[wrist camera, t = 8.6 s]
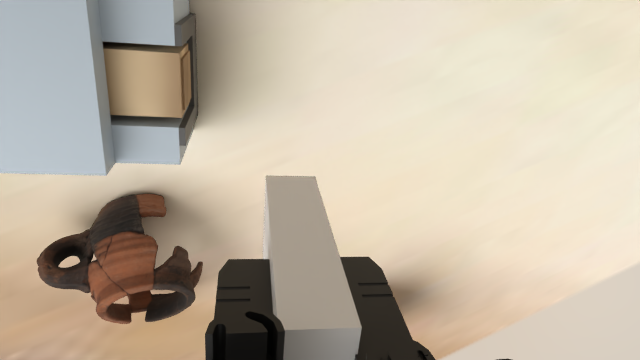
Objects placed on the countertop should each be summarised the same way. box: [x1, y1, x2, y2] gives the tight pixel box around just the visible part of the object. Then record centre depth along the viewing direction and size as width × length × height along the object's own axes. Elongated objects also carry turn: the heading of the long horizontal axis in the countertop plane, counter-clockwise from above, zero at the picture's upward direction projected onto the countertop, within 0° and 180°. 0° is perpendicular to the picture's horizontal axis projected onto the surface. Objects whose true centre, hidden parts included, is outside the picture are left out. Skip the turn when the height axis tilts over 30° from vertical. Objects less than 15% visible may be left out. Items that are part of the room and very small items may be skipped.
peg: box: [102, 41, 191, 118], centre depth 29 cm, size 12×4×4 cm, turn 85°
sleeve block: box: [0, 0, 198, 175], centre depth 29 cm, size 12×10×9 cm
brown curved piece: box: [37, 194, 203, 324], centre depth 38 cm, size 12×10×8 cm
